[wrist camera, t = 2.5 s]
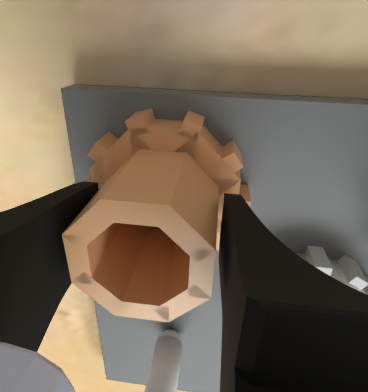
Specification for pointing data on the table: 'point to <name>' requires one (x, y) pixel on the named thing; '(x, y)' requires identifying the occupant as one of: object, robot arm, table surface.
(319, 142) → the carrier board
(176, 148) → the planet gear
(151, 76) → the table surface
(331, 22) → the table surface
